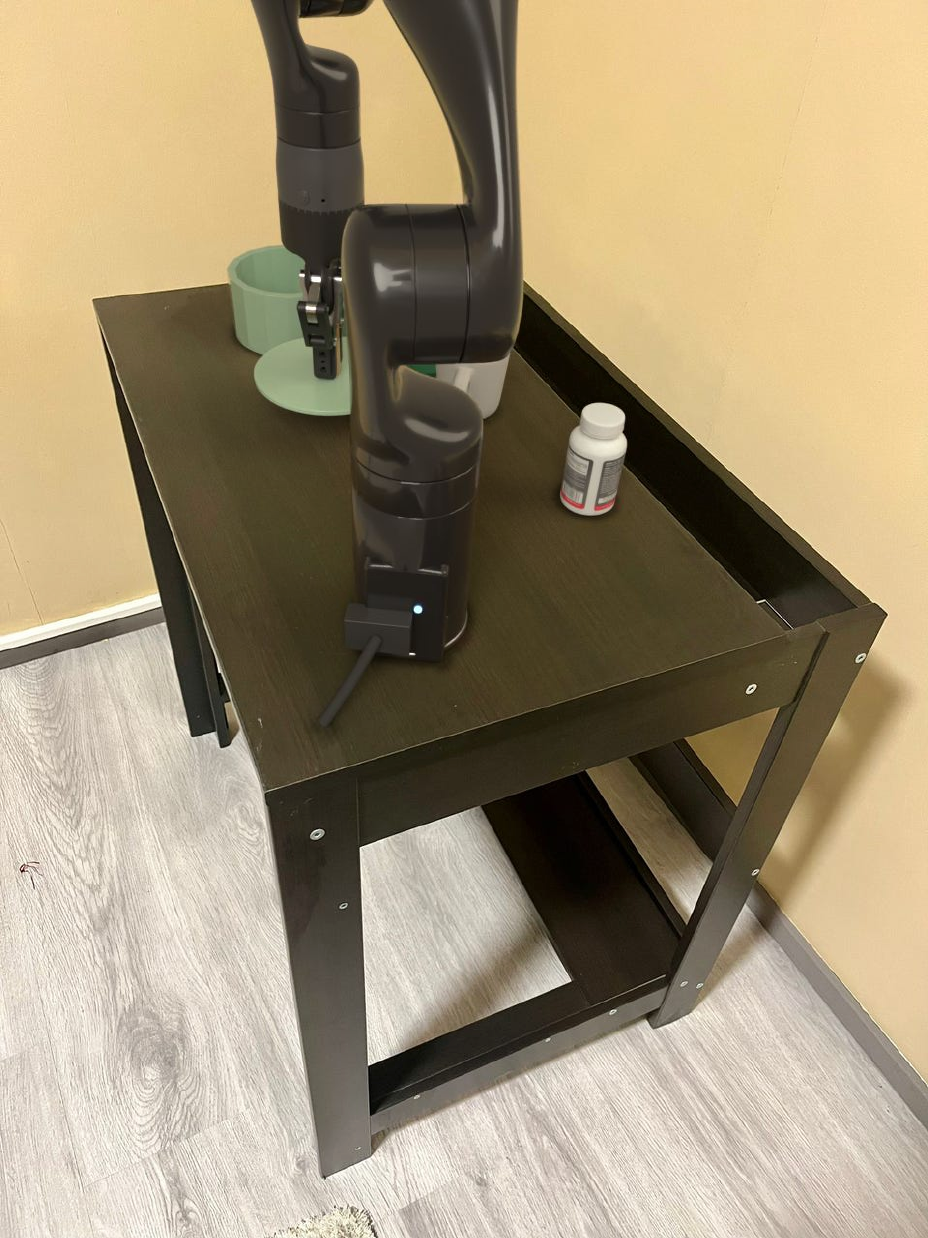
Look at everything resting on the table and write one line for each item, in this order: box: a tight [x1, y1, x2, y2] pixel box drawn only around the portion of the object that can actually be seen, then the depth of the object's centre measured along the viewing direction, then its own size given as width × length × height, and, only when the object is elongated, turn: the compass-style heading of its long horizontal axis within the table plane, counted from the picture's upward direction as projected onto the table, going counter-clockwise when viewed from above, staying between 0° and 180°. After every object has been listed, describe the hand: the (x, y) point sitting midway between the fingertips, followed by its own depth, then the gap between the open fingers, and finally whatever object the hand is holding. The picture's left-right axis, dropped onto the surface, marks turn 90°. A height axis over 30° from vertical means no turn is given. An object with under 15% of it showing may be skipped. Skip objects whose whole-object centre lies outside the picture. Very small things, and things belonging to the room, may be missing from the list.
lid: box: [253, 323, 350, 417], centre depth 90 cm, size 15×15×6 cm
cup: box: [436, 352, 511, 420], centre depth 95 cm, size 11×8×8 cm
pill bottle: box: [559, 402, 628, 517], centre depth 85 cm, size 5×5×10 cm
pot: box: [226, 244, 346, 356], centre depth 106 cm, size 14×14×8 cm
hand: (328, 368), depth 91 cm, fingers closed on lid, 2 cm apart
